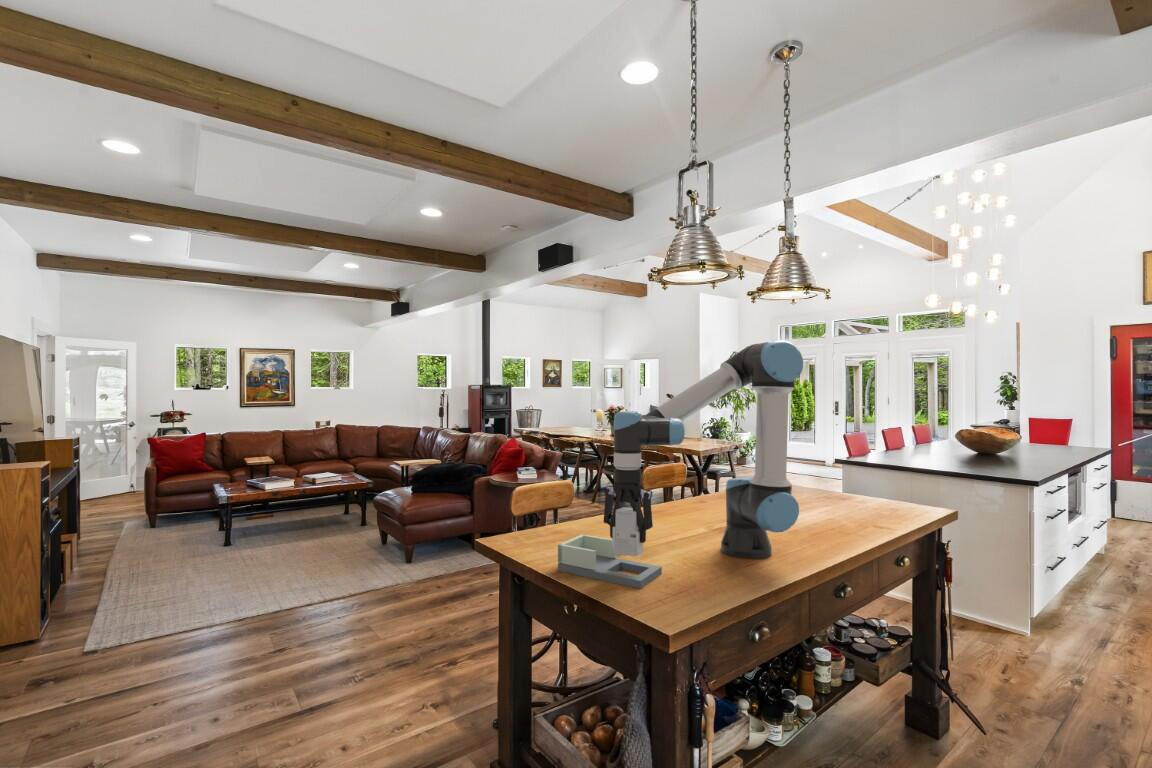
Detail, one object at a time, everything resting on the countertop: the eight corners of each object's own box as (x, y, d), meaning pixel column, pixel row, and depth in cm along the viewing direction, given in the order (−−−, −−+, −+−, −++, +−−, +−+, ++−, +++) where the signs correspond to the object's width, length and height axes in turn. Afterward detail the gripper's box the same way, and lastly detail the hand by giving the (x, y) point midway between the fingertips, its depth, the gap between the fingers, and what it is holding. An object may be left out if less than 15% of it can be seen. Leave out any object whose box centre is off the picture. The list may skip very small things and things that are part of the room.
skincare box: (614, 554, 148) (614, 509, 148) (619, 550, 152) (619, 506, 152) (636, 557, 146) (636, 511, 146) (641, 552, 150) (640, 508, 150)
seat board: (661, 573, 151) (661, 566, 151) (640, 588, 140) (640, 580, 140) (582, 558, 165) (582, 551, 165) (557, 570, 154) (557, 563, 154)
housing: (617, 557, 158) (616, 540, 158) (594, 569, 147) (594, 551, 147) (582, 550, 165) (582, 534, 165) (557, 562, 154) (557, 544, 154)
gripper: (666, 468, 147) (666, 554, 147) (603, 463, 158) (603, 543, 157) (654, 472, 141) (654, 561, 141) (590, 466, 151) (590, 549, 151)
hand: (627, 551), depth 149 cm, fingers closed on skincare box, 6 cm apart
